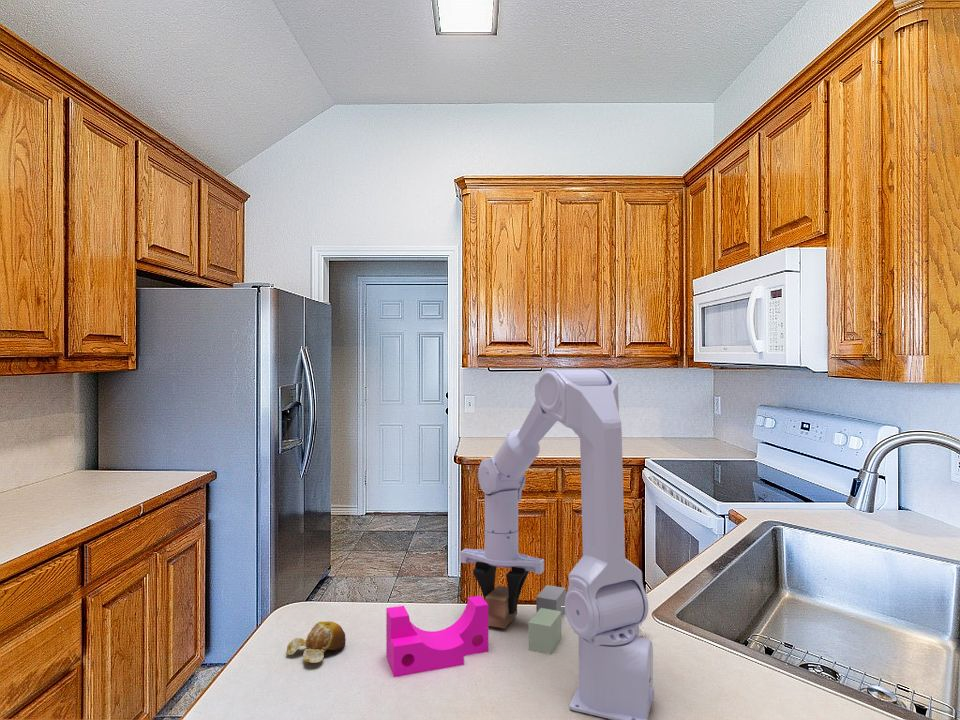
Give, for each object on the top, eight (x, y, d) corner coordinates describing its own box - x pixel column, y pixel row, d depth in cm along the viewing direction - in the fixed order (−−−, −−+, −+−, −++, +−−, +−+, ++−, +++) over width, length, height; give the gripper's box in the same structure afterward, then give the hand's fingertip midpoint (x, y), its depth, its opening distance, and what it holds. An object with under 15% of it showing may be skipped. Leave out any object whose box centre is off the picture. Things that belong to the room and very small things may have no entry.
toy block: (393, 678, 83) (393, 625, 83) (386, 657, 88) (386, 607, 89) (493, 661, 87) (493, 611, 87) (480, 642, 93) (480, 595, 93)
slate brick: (565, 613, 104) (565, 587, 104) (556, 627, 99) (556, 600, 99) (546, 610, 106) (546, 584, 106) (536, 623, 100) (536, 596, 100)
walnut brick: (517, 614, 102) (517, 588, 102) (504, 628, 96) (504, 600, 96) (498, 611, 103) (498, 585, 103) (485, 624, 97) (485, 597, 98)
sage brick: (561, 639, 94) (561, 611, 94) (550, 656, 89) (550, 626, 89) (540, 635, 96) (540, 607, 96) (528, 651, 90) (528, 622, 90)
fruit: (280, 649, 89) (281, 625, 90) (326, 634, 96) (328, 611, 96) (310, 667, 84) (311, 641, 84) (357, 650, 90) (359, 625, 90)
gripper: (549, 528, 100) (549, 607, 100) (472, 519, 106) (472, 594, 106) (536, 539, 94) (536, 624, 94) (455, 529, 100) (455, 609, 100)
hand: (501, 609), depth 100 cm, fingers closed on walnut brick, 3 cm apart
